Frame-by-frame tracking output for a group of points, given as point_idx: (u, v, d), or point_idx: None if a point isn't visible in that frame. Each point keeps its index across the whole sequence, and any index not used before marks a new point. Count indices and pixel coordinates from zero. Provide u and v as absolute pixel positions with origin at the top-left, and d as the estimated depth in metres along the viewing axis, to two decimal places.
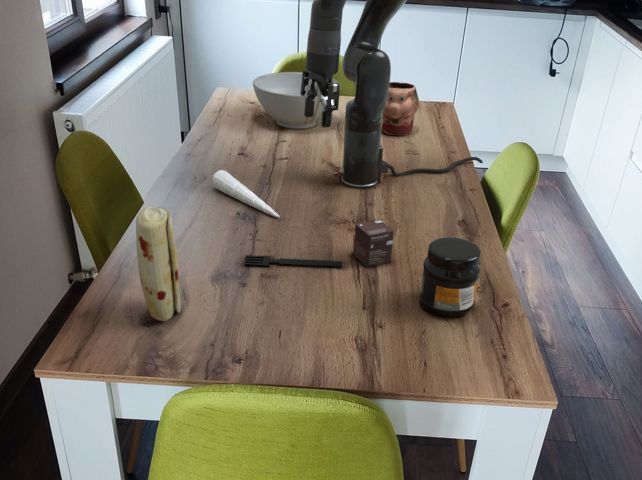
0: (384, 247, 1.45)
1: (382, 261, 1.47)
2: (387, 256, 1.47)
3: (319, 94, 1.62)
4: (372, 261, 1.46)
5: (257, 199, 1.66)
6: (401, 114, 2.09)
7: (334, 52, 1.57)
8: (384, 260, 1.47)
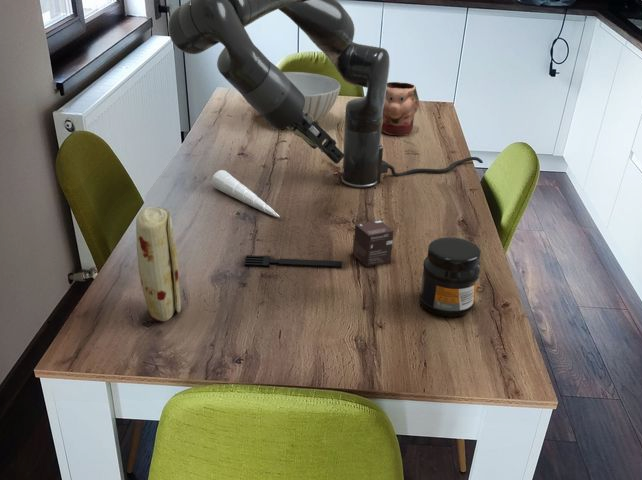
0: (384, 247, 1.45)
1: (382, 261, 1.47)
2: (387, 256, 1.47)
3: (306, 140, 1.23)
4: (372, 261, 1.46)
5: (257, 199, 1.66)
6: (401, 114, 2.09)
7: (283, 95, 1.16)
8: (384, 260, 1.47)
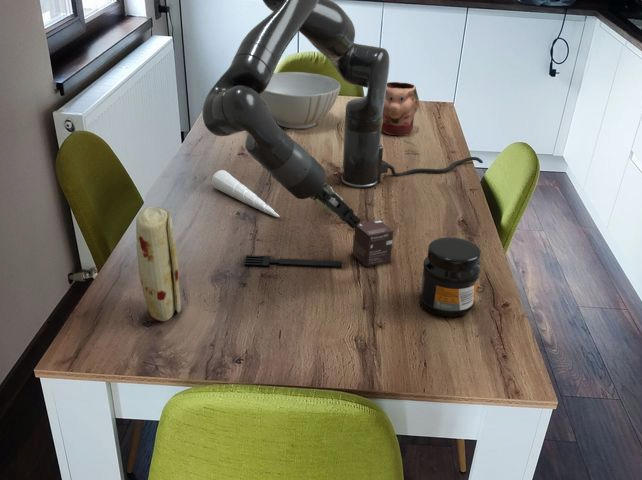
0: (384, 247, 1.45)
1: (382, 261, 1.47)
2: (387, 256, 1.47)
3: (325, 208, 1.33)
4: (372, 261, 1.46)
5: (257, 199, 1.66)
6: (401, 114, 2.09)
7: (306, 171, 1.25)
8: (384, 260, 1.47)
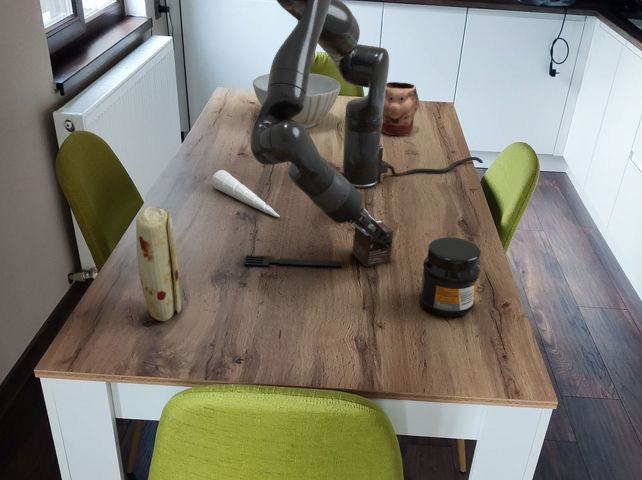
0: None
1: (382, 261, 1.47)
2: (387, 256, 1.47)
3: (361, 231, 1.40)
4: (372, 261, 1.46)
5: (257, 199, 1.66)
6: (401, 114, 2.09)
7: (345, 197, 1.33)
8: (384, 260, 1.47)
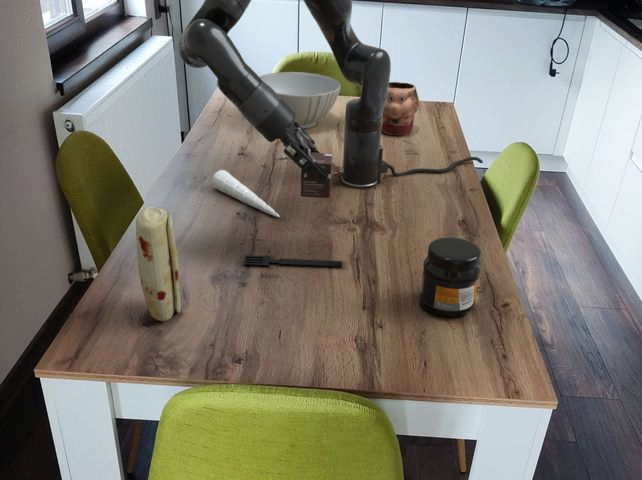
0: None
1: (319, 195, 1.42)
2: (325, 191, 1.42)
3: None
4: (307, 192, 1.42)
5: (257, 199, 1.66)
6: (401, 114, 2.09)
7: (266, 113, 1.32)
8: (321, 194, 1.42)
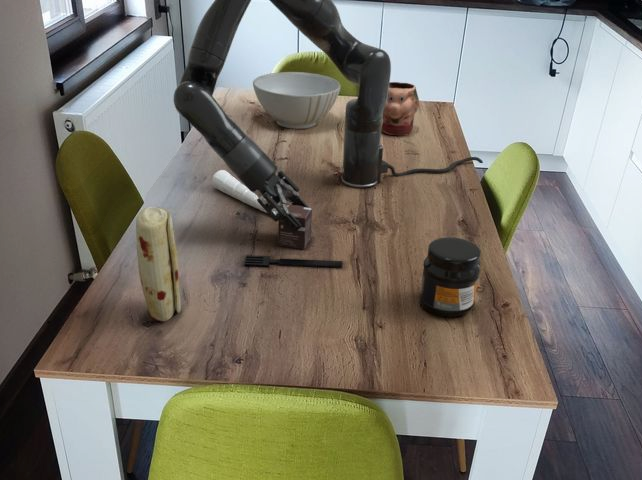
0: (296, 231, 1.49)
1: (294, 245, 1.51)
2: (300, 242, 1.50)
3: None
4: (284, 242, 1.51)
5: None
6: (401, 114, 2.09)
7: (246, 166, 1.42)
8: (296, 245, 1.51)
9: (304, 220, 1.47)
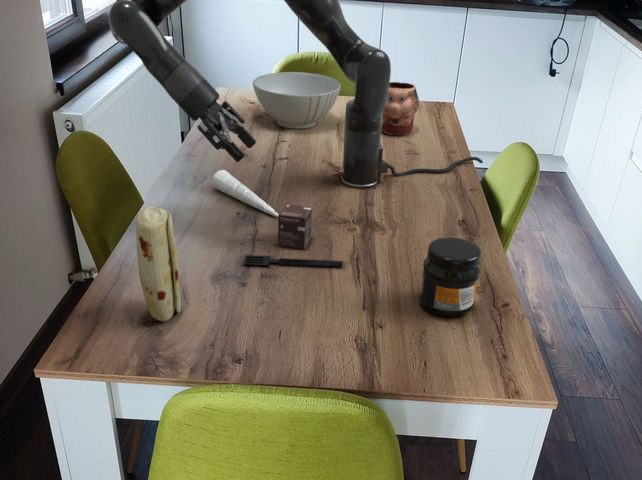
0: (296, 231, 1.49)
1: (294, 245, 1.51)
2: (300, 242, 1.50)
3: None
4: (284, 242, 1.51)
5: (258, 199, 1.66)
6: (401, 114, 2.09)
7: (186, 92, 1.38)
8: (296, 245, 1.51)
9: (304, 220, 1.47)
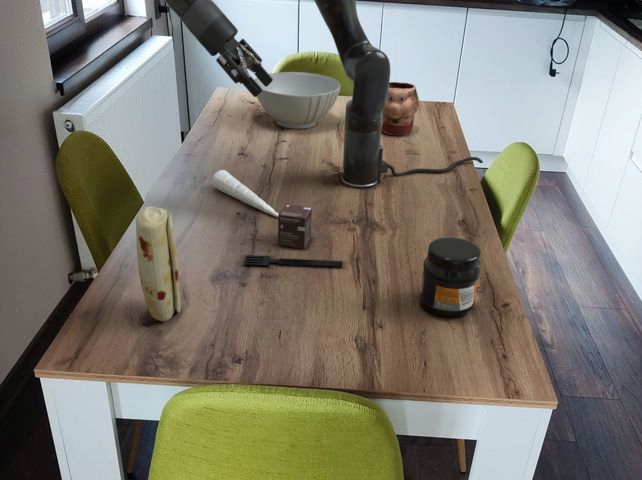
0: (295, 231, 1.49)
1: (294, 245, 1.51)
2: (299, 242, 1.50)
3: None
4: (284, 242, 1.51)
5: (258, 199, 1.66)
6: (401, 114, 2.09)
7: (205, 25, 1.40)
8: (296, 245, 1.51)
9: (304, 220, 1.47)
